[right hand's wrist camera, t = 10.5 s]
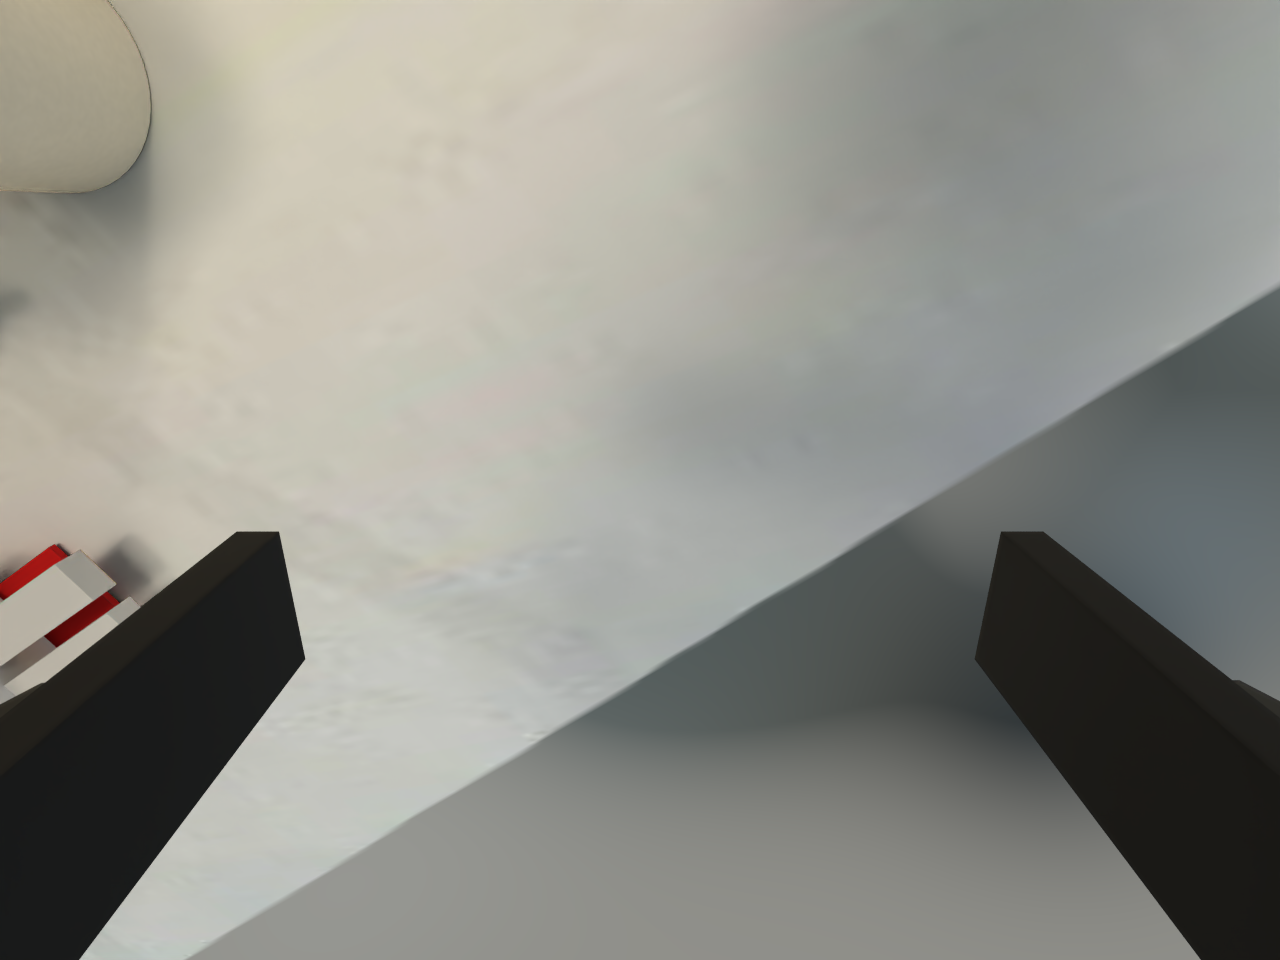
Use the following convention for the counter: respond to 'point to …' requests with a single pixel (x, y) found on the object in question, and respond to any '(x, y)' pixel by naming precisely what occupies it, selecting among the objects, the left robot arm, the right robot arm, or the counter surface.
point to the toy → (53, 617)
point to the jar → (68, 96)
